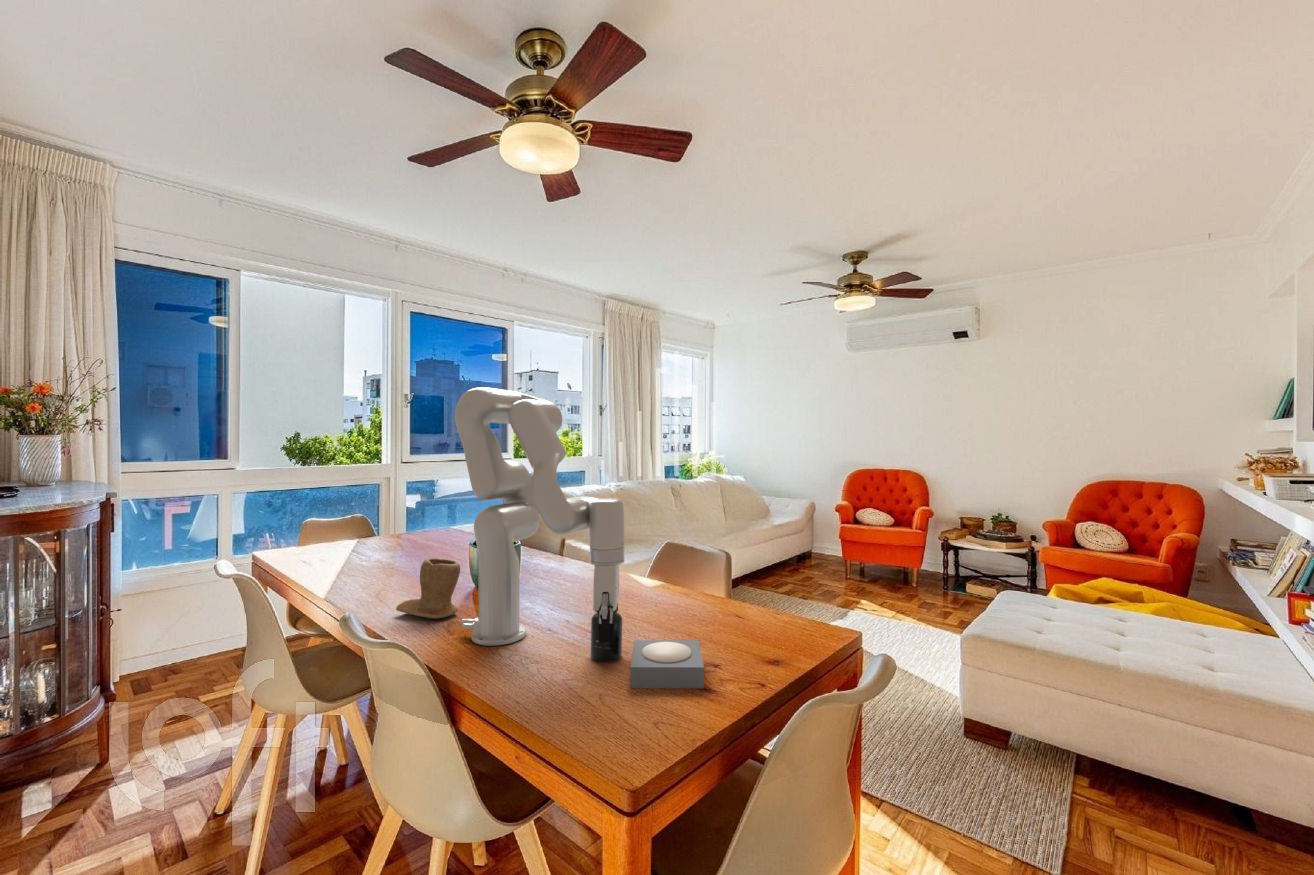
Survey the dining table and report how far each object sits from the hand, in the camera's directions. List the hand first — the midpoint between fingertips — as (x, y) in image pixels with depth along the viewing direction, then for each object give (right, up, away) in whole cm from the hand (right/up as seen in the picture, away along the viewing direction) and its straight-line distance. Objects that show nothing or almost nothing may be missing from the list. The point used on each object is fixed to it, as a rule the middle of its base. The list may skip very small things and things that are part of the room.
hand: (608, 633), depth 119 cm
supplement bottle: (0, -5, 0) cm, 5 cm away
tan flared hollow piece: (-50, -5, +29) cm, 58 cm away
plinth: (+13, -5, -8) cm, 16 cm away
